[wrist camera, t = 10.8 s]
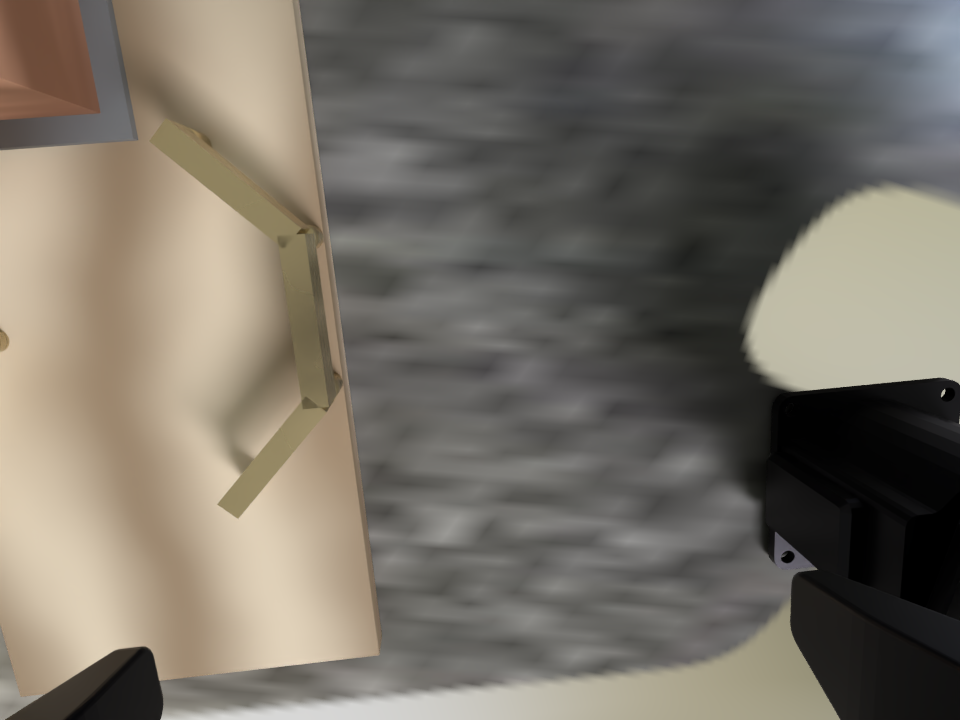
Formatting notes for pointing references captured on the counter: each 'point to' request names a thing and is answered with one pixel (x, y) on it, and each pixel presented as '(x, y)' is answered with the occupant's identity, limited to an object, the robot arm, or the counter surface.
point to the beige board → (170, 366)
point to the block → (44, 60)
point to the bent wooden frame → (300, 294)
